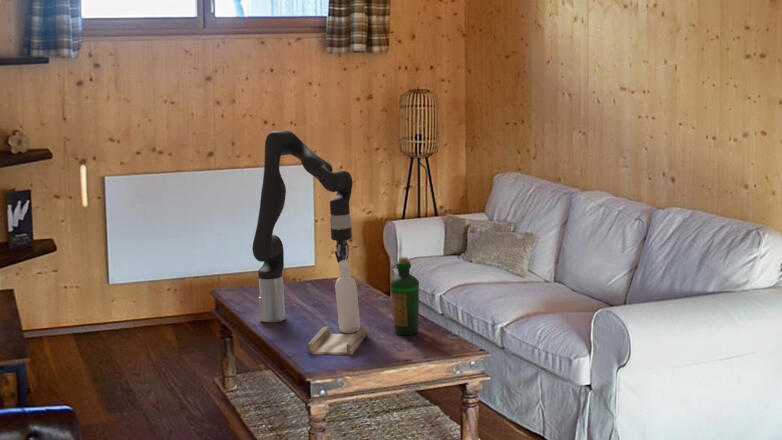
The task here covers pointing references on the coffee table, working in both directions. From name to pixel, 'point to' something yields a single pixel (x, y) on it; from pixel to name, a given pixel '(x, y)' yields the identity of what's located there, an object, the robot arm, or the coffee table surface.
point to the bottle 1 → (347, 300)
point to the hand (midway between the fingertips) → (343, 272)
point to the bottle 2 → (405, 299)
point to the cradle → (336, 342)
